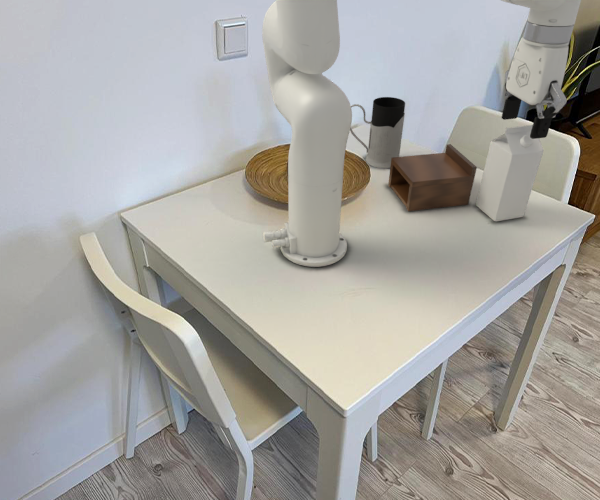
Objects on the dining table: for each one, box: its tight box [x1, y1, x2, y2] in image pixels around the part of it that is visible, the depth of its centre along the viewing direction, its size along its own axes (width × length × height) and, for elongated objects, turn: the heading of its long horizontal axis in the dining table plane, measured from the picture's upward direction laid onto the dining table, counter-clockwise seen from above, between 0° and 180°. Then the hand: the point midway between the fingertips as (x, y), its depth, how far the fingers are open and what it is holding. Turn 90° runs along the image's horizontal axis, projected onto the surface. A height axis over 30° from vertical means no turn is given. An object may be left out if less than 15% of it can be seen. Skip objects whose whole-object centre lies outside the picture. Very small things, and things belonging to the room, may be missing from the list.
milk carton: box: [475, 124, 544, 222], centre depth 104 cm, size 7×7×19 cm
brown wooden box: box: [387, 143, 478, 212], centre depth 112 cm, size 14×12×9 cm
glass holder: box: [350, 96, 406, 169], centre depth 125 cm, size 9×14×15 cm, turn 77°
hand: (522, 127), depth 98 cm, fingers open, 9 cm apart
